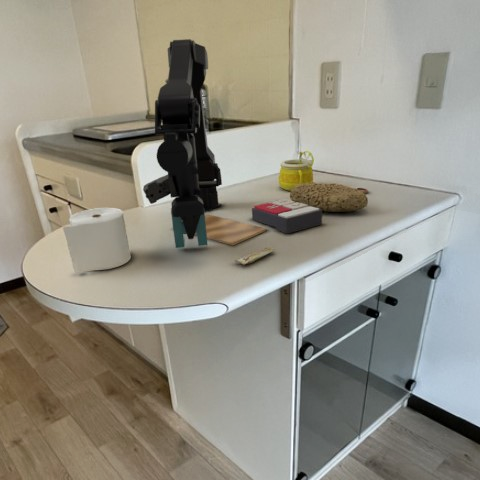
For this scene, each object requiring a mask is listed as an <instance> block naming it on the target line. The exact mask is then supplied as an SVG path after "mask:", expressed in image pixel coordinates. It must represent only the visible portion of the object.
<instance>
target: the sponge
mask: <svg viewBox="0 0 480 480" xmlns="http://www.w3.org/2000/svg"><path fill="white" fill-rule="evenodd" d="M289 198H290V201H294V202H298V203H302V204H307V205H308V207H309V206H311V207H315V208H319V209H320V210H322V212H330V213H331V212H332V213H340V212H341V213H345V212H346V213H347V212H353V211H358V210H362V209H365V208H366V207H368V204H369V201H368V200H369V199H368V198H369V197H368V196H367V193H364V192H363V190H358V189H357V188H354V187H351V186H347V185H343V184H338V183H328V182H323V183H316V182H314V181H313V182H311V184H309V183H305V184H304V183H302V184H298V185H295V187H294V188H293V189H291V191H290V193H289Z"/></svg>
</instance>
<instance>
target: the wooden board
mask: <svg viewBox="0 0 480 480" xmlns="http://www.w3.org/2000/svg"><path fill="white" fill-rule="evenodd" d="M205 222H206V233H207V239H209V240H213V241H215V242H219V243H223V244H227V245H229V246H234V245H237V244H239V243H242V242H244V241H247V240H249V239H251V238H254V237H256V236H257V235H260V234H262V233H265V232H266V231H267V228H265V227H262V226H257V225H253V224H249V223H245V222H240V221H237V220H233V219H228V218H225V217H220V216H216V215H211V214H205ZM194 236H197V233H195V235H194Z"/></svg>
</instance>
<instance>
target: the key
mask: <svg viewBox="0 0 480 480" xmlns="http://www.w3.org/2000/svg"><path fill="white" fill-rule="evenodd" d="M356 189H358V190H361V191H363V192H364V193H366V194H367V193H369V190H368V189H367V188H364V187H357V188H356Z"/></svg>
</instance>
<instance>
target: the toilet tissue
mask: <svg viewBox="0 0 480 480" xmlns="http://www.w3.org/2000/svg"><path fill="white" fill-rule="evenodd" d="M69 224H70V226H63V227H62V230H63V233H64V236H65V240H66V243H67V244H66V245H67V248H68V251H69V255H70V259H71V262H72V267H73V271H74V273H86V272H93V271H101V270H103V271H104V270H110V269H114V268H118V267H120V266H122V265H125V264H127V263H128V262H129V261H130V260H131V259H132V256H131V248H130V245H129V239H128V234H127V228H126V222H125V218H124V212H123V210H122V209H119V208H117V207H96V208H89V209H85V210H81V211H78V212H74V213H73V214H72V215H70V217H69Z"/></svg>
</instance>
